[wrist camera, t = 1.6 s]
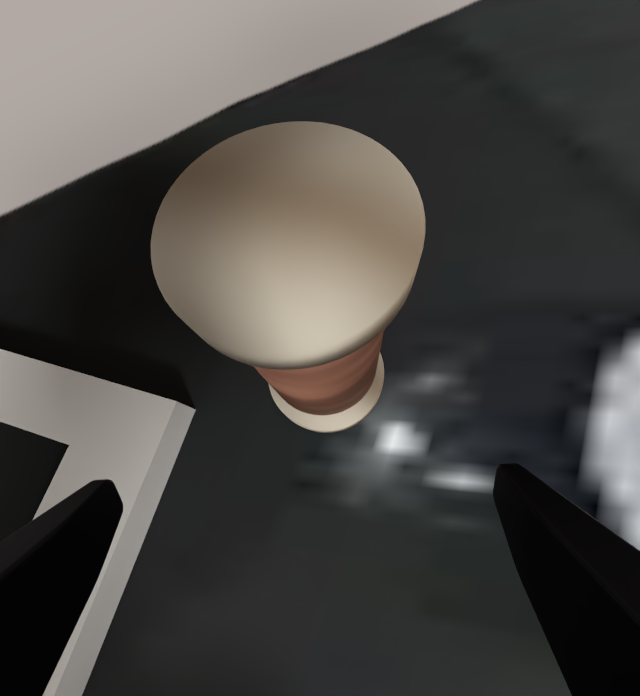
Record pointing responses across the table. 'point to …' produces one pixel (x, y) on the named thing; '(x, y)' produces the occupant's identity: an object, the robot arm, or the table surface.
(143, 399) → the notched board
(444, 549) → the table surface
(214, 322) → the bobbin
